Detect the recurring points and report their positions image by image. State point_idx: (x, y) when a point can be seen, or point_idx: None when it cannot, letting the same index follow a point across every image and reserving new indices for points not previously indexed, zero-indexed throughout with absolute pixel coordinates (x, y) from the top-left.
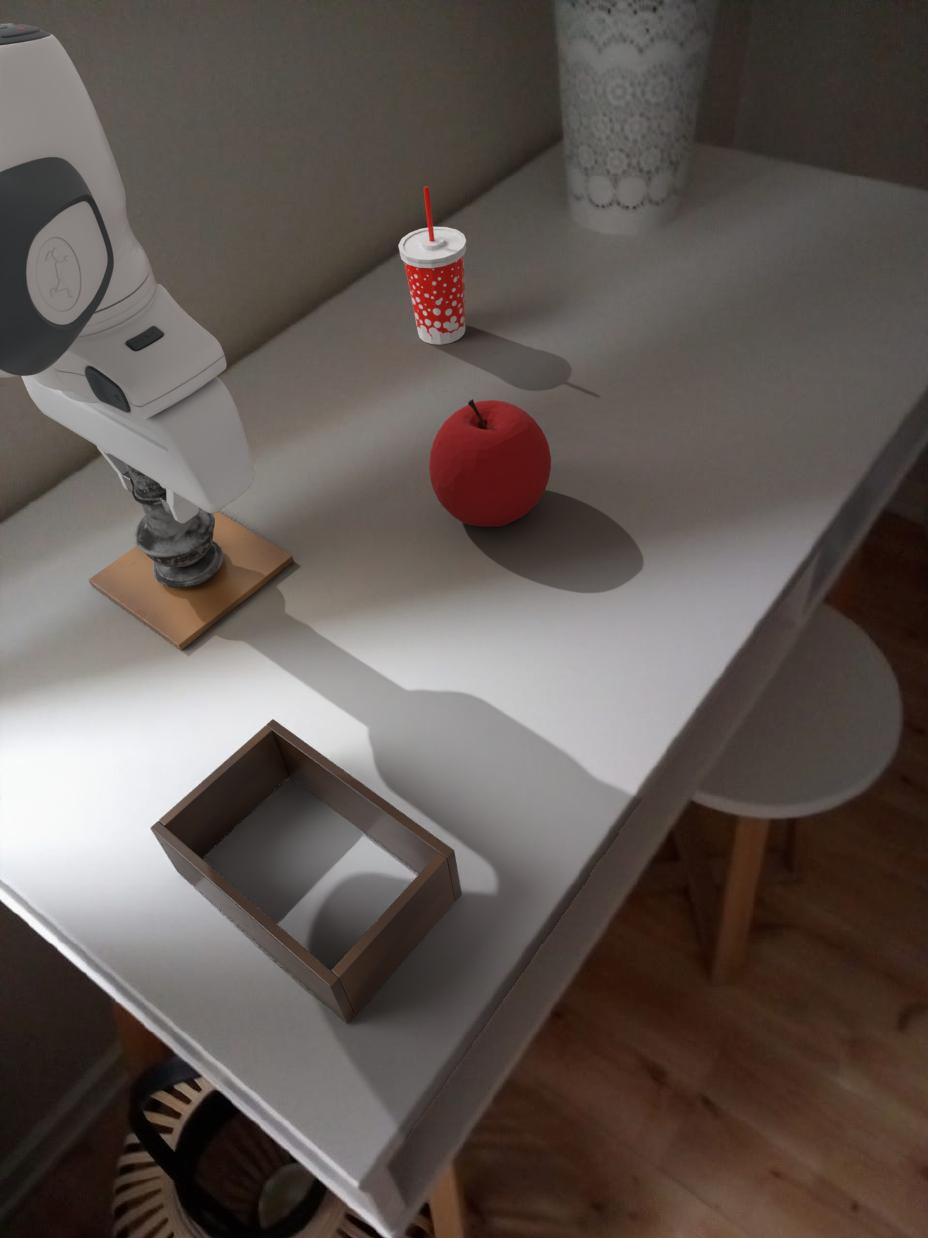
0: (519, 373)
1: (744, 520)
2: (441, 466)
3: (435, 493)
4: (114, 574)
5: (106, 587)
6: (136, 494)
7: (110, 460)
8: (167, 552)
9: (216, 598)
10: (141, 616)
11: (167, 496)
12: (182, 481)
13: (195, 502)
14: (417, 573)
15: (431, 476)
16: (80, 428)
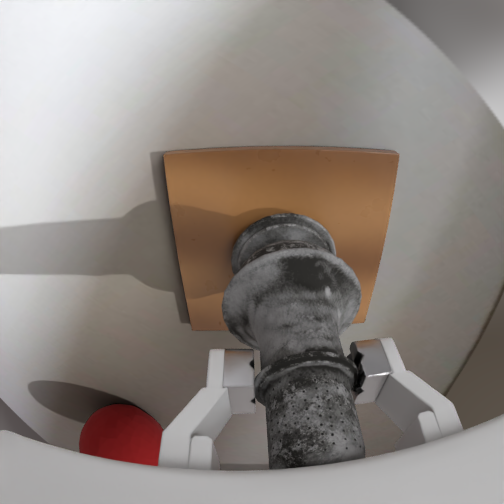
0: (235, 467)
1: (49, 429)
2: (115, 455)
3: (130, 427)
4: (373, 183)
5: (363, 158)
6: (325, 363)
7: (416, 396)
8: (248, 273)
9: (200, 241)
10: (263, 152)
11: (204, 411)
12: (18, 498)
13: (13, 450)
14: (99, 360)
15: (129, 442)
16: (474, 466)
